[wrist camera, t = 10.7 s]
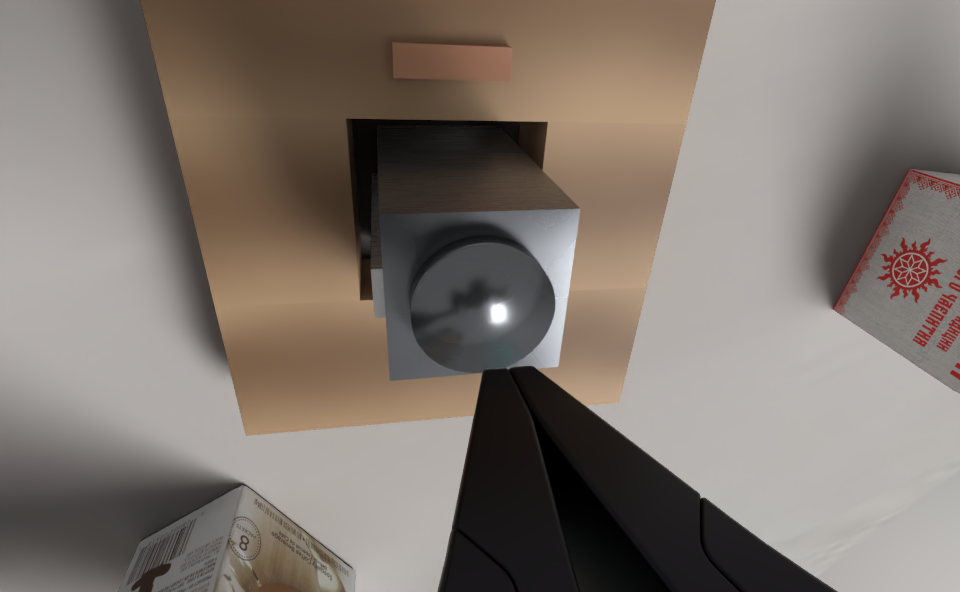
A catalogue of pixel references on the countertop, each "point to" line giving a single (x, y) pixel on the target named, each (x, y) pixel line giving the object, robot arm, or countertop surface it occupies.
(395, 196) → the peg
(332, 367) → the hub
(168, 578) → the coffee box
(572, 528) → the robot arm
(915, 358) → the white upright block
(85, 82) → the countertop surface
